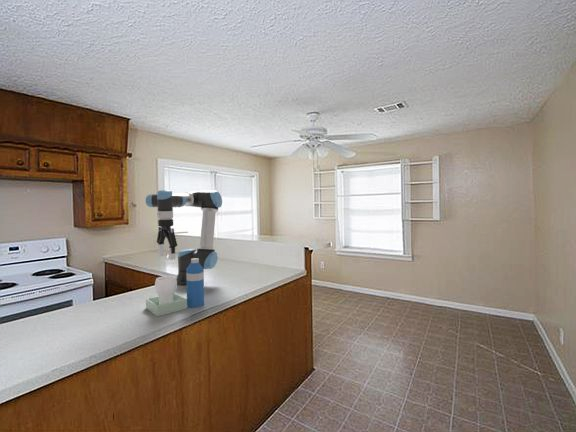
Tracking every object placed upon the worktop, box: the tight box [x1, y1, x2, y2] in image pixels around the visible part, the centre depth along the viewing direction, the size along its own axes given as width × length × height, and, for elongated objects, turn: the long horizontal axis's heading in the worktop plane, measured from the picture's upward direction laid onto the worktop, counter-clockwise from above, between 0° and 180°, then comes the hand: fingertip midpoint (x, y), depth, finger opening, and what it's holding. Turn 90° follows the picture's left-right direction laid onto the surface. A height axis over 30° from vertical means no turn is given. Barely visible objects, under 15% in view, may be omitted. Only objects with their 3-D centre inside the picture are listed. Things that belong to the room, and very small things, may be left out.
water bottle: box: [186, 258, 205, 309], centre depth 156 cm, size 9×9×25 cm
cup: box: [154, 275, 178, 305], centre depth 151 cm, size 11×11×15 cm
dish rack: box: [145, 292, 188, 317], centre depth 151 cm, size 15×15×5 cm
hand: (167, 257), depth 158 cm, fingers open, 13 cm apart
